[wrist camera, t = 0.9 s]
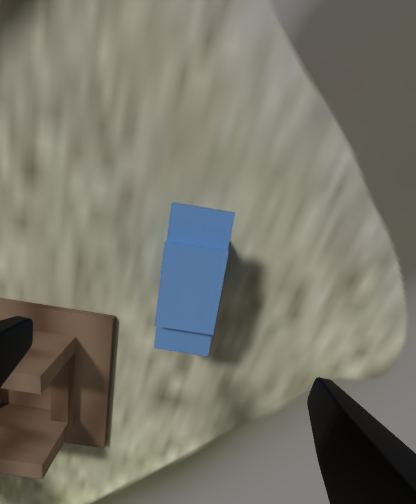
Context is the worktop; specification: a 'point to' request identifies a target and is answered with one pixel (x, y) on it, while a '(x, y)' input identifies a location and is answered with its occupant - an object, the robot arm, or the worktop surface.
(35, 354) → the cradle
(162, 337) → the block
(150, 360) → the worktop surface
